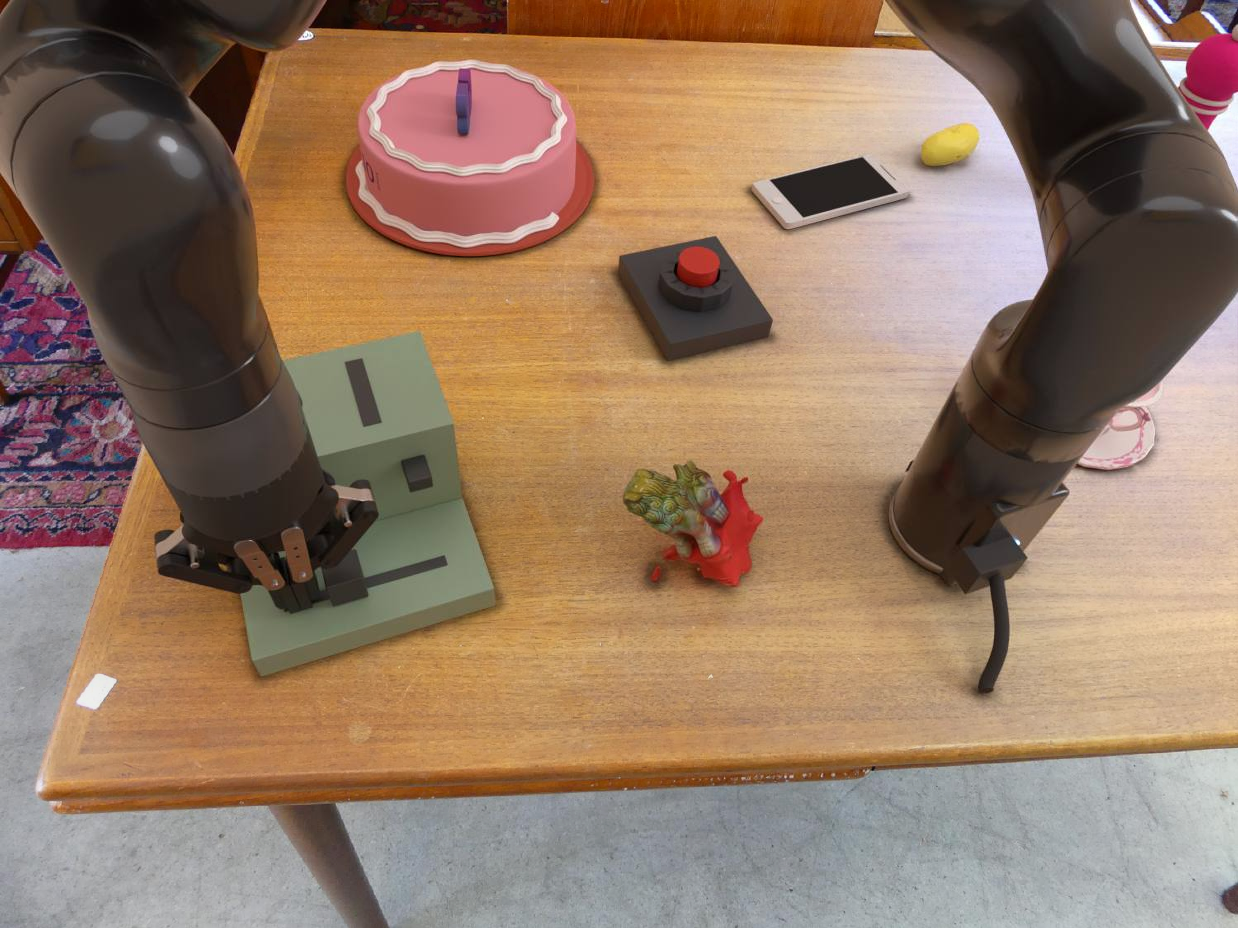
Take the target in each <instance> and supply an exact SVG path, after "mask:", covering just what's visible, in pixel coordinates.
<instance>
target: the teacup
mask: <svg viewBox="0 0 1238 928" xmlns="http://www.w3.org/2000/svg"><path fill="white" fill-rule="evenodd" d="M1164 392H1165V380H1164V378H1163V379H1162V380H1161V381H1160V382H1159V383H1158V384H1157V385H1156V386H1155V387H1154V388H1153V389H1152V390H1150V391H1149V392H1148V393H1146V394H1145V395H1143V396H1142V397H1140V398H1139V399H1137V400H1135V401H1133V402H1132V403H1130V404H1128V405H1126V406H1124V407H1122V408H1120V409H1119V411H1118V412H1117V413H1116V414H1115V416H1114V417H1113V418H1112V419H1111V420H1110V422H1109V423H1108V424H1107V426H1106V427H1105V428H1104V429H1103V431H1102V432H1101V433H1100V435H1099V436H1098V437H1097V438H1096V440H1095V441H1094V442H1093V444H1092V445H1091V446H1090V447H1089V449H1088V450H1087V451H1086V452H1085V454H1084V455H1083V456H1082V458H1081V459H1080V460H1079V462H1078V463H1077V464H1076V465H1078V466H1082V467H1084V468H1092V469H1099V470H1106V471H1110V470H1117V469H1124V468H1129V467H1131V466H1133V465H1135V464H1137V463H1138V462H1141V461H1143V460H1144V459H1145V458H1146V456H1147V455H1148V453H1150V451H1151V450H1152V448H1153V446H1154V444H1155V437H1156V426H1155V423H1154V421H1153V417H1152V415H1151V412H1150V410H1149V409H1148V408H1147V407H1149V406H1151V405H1154V404H1155V403H1158V401H1159V400H1160V399H1161V398H1162V397H1163V395H1164Z"/></svg>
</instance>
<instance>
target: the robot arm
mask: <svg viewBox="0 0 1238 928" xmlns="http://www.w3.org/2000/svg"><path fill="white" fill-rule="evenodd" d="M327 1H328V0H9V1H8V3H7V4H6V5H5V7H4V8H3V9H2V11H1V13H0V175H1V176H2V177H3V180H5V182H6V183H7V184H8V186H9V188H10V190H12V192H13V193H14V195H15V196H16V198H17V199H18V200H19V202H20V203H21V205H22V207H23V209H24V210H25V211H26V213H27V215H28V216H29V218H30V219H31V220H32V222H33V223H34V225H35V227H36V228H37V229H38V231H39V233H40V235H41V236H42V237H43V239H44V241H45V242H46V243H47V245H48V247H49V249H50V250H51V251H52V253H53V255H54V257H55V258H56V260H57V261H58V263H59V264H60V266H61V267H62V269H63V271H64V273H65V274H66V276H67V278H68V279H69V281H70V282H71V284H72V285H73V287H74V289H75V291H76V292H77V294H78V296H79V298H80V299H81V301H82V303H83V305H84V306H85V308H86V309H87V310H86V311H87V318H88V322H89V328H90V330H91V333H92V336H93V338H94V342H95V343H96V347H97V348H98V350H99V353H100V355H101V357H102V359H103V360H104V362H105V365H106V366H107V368H108V370H109V372H110V374H111V376H112V377H113V379H114V381H115V383H116V385H117V386H118V389H119V390H120V392H121V394H122V396H123V398H124V400H125V401H126V403H127V405H128V407H129V410H130V414H131V417H132V421H133V424H134V426H135V429H136V432H137V434H138V436H139V439H140V441H141V443H142V444H143V446H144V448H145V450H146V452H147V453H148V455H149V457H150V459H151V461H152V463H153V465H154V466H155V468H156V470H157V471H158V474H159V475H160V477H161V479H162V480H163V483H164V485H165V486H166V488H167V490H168V491H169V493H170V495H171V497H172V498H173V501H174V503H175V504H176V507H177V508H178V510H179V520H180V522H181V524H182V525H180V526H179V527H178V528H177V529H176V530H173V529H161V530H158V531H157V532H155V533H154V535H153V540H154V541H153V542H154V550H155V557H156V568H157V574H159V576H162V577H166V578H170V579H173V580H178V581H183V582H187V583H191V584H195V585H198V586H203V587H208V588H211V589H214V590H215V589H216V590H218V591H219V590H220V591H223V592H228V593H232V594H238V595H241V594H242V593H246V592H248V591H249V590H251V588H252V586H253V585H262V586H264V588H265V589H267V590H268V592H269V594H270V596H271V598H272V600H273V602H274V604H275V606H276V607H277V608H279V609H284V608H288V610H289V612H290V614H293V613H296V612H300V611H301V609H302V611H303V610H307V609H310V608H313V604H312V600H315V599H319V596H320V590H319V586H318V581H317V577H316V574H315V570H316V569H317V568H319V567H321V568H323V569H332V568H335V567H336V566H338V565H339V564H340V562H341V561H342V560H343V559H344V558H345V556H346V555H347V554H348V553H349V552H350V551H351V549H352V548H353V547H354V546H355V545H356V543H357V542H358V541H359V540H360V539H361V537H362V536H363V535H364V534H365V533H366V531H367V530H368V529H369V528H370V527H371V525H372V524H373V523H374V522H375V521H376V519H377V518H378V517H379V513H378V509H377V506H376V501H375V498H374V494H373V491H372V489H371V485H370V482H369V481H368V480H365V479H360V480H357V481H354V482H353V483H352V484H351V485H350V486H349V487H345V486H339V485H335V480H334V478H333V476H332V475H331V474H329V473H328V472H326V471H325V470H323V469H322V468H321V466H320V463H319V459H318V456H317V453H316V450H315V447H314V444H313V440H312V437H311V434H310V431H309V428H308V425H307V421H306V418H305V415H304V412H303V409H302V407H303V405H302V404H303V402H302V399H301V397H300V395H299V393H298V391H297V389H296V387H295V385H294V382H293V380H292V377H291V375H290V373H289V371H288V370H287V368H286V366H285V364H284V363H283V361H282V360H283V359H282V357H281V354H280V352H279V348H278V345H277V342H276V338H275V336H274V333H273V330H272V326H271V323H270V320H269V318H268V314H267V311H266V308H265V306H264V303H263V300H262V298H261V296H260V293H259V288H260V287H259V285H260V268H259V267H260V266H259V254H258V253H259V252H258V241H257V239H258V237H257V229H256V219H255V213H254V210H253V206H252V202H251V198H250V194H249V192H248V189H247V186H246V182H245V180H244V176H243V174H242V171H241V170H240V167H239V165H238V162H237V159H236V157H235V155H234V153H233V152H232V149H231V148H230V145H228V142H227V141H226V139H225V138H224V136H223V135H222V133H221V131H220V130H219V129H218V127H217V126H216V125H215V124H214V123H213V121H212V120H211V119H210V117H208V116H207V115H206V114H205V112H204V110H202V109H201V108H200V107H199V106H198V105H197V104H196V103H195V102H194V101H193V100H192V98H191V97H190V96H191V94H192V93H193V91H194V90H195V88H196V87H197V85H198V84H199V83H200V81H202V79H203V78H204V77H205V76H206V74H208V72H209V71H210V70H211V69H212V68H213V67H214V66H215V65H216V64H217V63H218V61H219V60H220V59H221V58H222V57H223V56H225V54H226V53H228V51H229V50H230V49H231V48H232V47H233V46H234V45H236V44H237V45H240V46H242V47H245V48H247V49H251V50H255V51H259V52H263V53H275V52H276V53H277V52H282V51H285V50H287V49H289V48H290V47H292V46H293V45H295V44H296V43H297V42H298V41H299V40H300V39H301V38H302V37H303V35H304V34H305V33H306V31H308V30H309V28H310V27H311V26H312V24H313V22H314V21H315V20H316V18H317V16H318V15H319V13H320V12H321V11H322V9H323V7H324V6H325V4H326V2H327ZM884 1H885V3H886V4H887V5H888V7H889V8H890V9H891V11H892V12H893V13H894V15H895V16H896V17H897V18H898V20H899V21H900V22H901V24H903V25H904V26H905V28H906V29H907V30H908V31H910V33H911V34H913V35H914V37H915V38H916V39H917V40H918V41H919V42H920V43H921V44H923V45H924V46H925V47H926V48H927V49H928V50H929V51H930V52H932V53H933V54H934V55H935V56H937V57H938V58H939V59H940V60H941V61H943V62H944V63H946V64H947V65H948V66H949V67H951V68H952V69H953V70H954V71H956V72H957V73H959V74H960V75H961V76H962V77H963V78H964V79H966V80H967V81H968V82H969V83H970V84H972V86H974V88H975V89H976V90H977V91H978V92H979V93H980V94H981V95H982V96H983V97H984V99H985V100H986V102H987V103H988V105H989V106H990V108H991V109H992V110H993V112H994V114H995V115H996V117H997V119H998V121H999V122H1000V125H1001V126H1002V128H1003V130H1004V133H1005V134H1006V136H1007V138H1008V140H1009V143H1010V144H1011V147H1012V149H1013V151H1014V153H1015V155H1016V157H1017V159H1018V161H1019V164H1020V166H1021V168H1022V171H1023V173H1024V176H1025V179H1026V181H1027V183H1028V186H1029V189H1030V192H1031V194H1032V199H1033V203H1034V206H1035V210H1036V215H1037V220H1038V226H1039V230H1040V236H1041V241H1042V247H1043V252H1044V257H1045V261H1046V267H1047V272H1046V275H1045V277H1044V279H1043V281H1042V283H1041V285H1040V287H1039V288H1038V290H1037V292H1036V294H1035V295H1034V297H1033V298H1032V299H1026V300H1020V301H1016V302H1014V303H1011V304H1008V305H1006V306H1005V307H1003V308H1001V310H999V311H998V312H997V313H995V315H993V317H992V318H991V319H990V320H989V321H988V323H987V325H986V326H985V328H984V330H983V331H982V332H981V333H982V334H981V335H980V337H979V339H978V341H977V342H976V344H975V347H974V349H973V350H972V352H971V353H970V356H969V358H968V360H967V362H966V363H965V365H964V367H963V369H962V371H961V373H960V375H959V376H958V378H957V380H956V382H955V383H954V386H953V387H952V389H951V391H950V393H949V394H948V397H947V399H946V400H945V402H944V404H943V406H942V407H941V409H940V412H939V413H938V415H937V417H936V418H935V421H934V423H932V426H931V427H930V429H929V431H928V434H927V435H926V437H925V439H924V440H923V443H922V445H921V446H920V448H919V450H918V452H917V453H916V455H915V458H914V459H913V460H911V461H910V462H909V464H908V465H907V467H906V469H905V472H904V473H906V475H905V477H904V478H903V480H902V482H901V484H900V485H899V486H898V488H897V489H896V491H895V493H894V495H893V496H892V498H891V500H890V502H889V506H888V524H889V527H890V530H891V533H892V535H893V537H894V539H895V541H896V542H897V544H898V545H899V547H900V548H901V549H902V550H903V551H904V552H905V554H907V555H908V556H909V557H910V558H911V559H912V560H913V561H914V562H916V563H917V564H918V565H920V566H922V567H923V568H925V569H927V570H929V571H931V572H933V573H936V574H938V575H939V576H940V578H942V579H943V581H944V583H945V584H946V585H947V586H949V587H952V586H955V585H958V586H959V588H960V589H961V591H962V592H963V594H964V595H968V594H972V593H973V592H977V591H980V590H982V589H986V588H989V592H990V600H991V605H992V613H993V614H992V615H993V641H992V647H991V651H990V654H989V657H988V659H987V662H986V664H985V666H984V668H983V670H982V673H981V674H980V677H979V679H978V683H977V691H978V692H979V693H980V694H990V693H993V692H994V687H995V684H996V683H997V680H998V677H999V675H1000V673H1001V671H1002V670H1003V669H1002V668H1003V666H1004V664H1005V661H1006V658H1007V655H1008V651H1009V644H1010V631H1011V630H1010V628H1011V627H1010V626H1011V625H1010V613H1009V605H1008V599H1007V592H1006V591H1007V590H1006V584H1005V581H1009V580H1010V579H1012V578H1014V576H1015V574H1016V573H1017V572H1018V571H1019V569H1020V568H1021V567H1022V566H1023V565H1024V563H1025V562H1026V561H1027V560H1028V556H1027V555H1026V553H1025V551H1026V549H1027V548H1028V547H1029V546H1030V545H1031V543H1032V542H1033V540H1035V538H1036V537H1037V536H1038V534H1040V532H1041V530H1043V528H1044V527H1045V526H1046V524H1047V523H1048V522H1049V520H1050V519H1051V518H1052V517H1053V515H1055V513H1056V512H1057V510H1058V509H1059V508H1060V507H1061V505H1062V504H1063V503H1064V502H1065V501H1066V499H1067V498H1068V497H1069V495H1070V490H1069V488H1068V487H1067V485H1066V484H1065V483H1064V481H1065V480H1066V478H1067V477H1068V476H1069V475H1070V473H1071V472H1072V471H1073V469H1074V468H1075V467H1076V466H1077V465H1078V464H1077V463H1078V462H1079V460H1080V459H1081V458H1082V456H1083V455H1084V454H1085V452H1086V451H1087V450H1088V449H1089V447H1090V446H1091V445H1092V444H1093V442H1094V441H1095V440H1096V438H1097V437H1098V436H1099V435H1100V433H1101V432H1102V431H1103V429H1104V428H1105V427H1106V426H1107V424H1108V423H1109V422H1110V420H1111V419H1112V418H1113V417H1114V416H1115V414H1116V413H1117V412H1118V411H1119V409H1120V408H1122V407H1124V406H1126V405H1128V404H1130V403H1132V402H1133V401H1135V400H1137V399H1139V398H1140V397H1142V396H1143V395H1145V394H1146V393H1148V392H1149V391H1150V390H1152V389H1153V388H1154V387H1155V386H1156V385H1157V384H1158V383H1159V382H1160V381H1161V380H1162V379H1164V378H1166V376H1167V375H1168V374H1169V373H1170V372H1171V371H1172V370H1173V369H1174V367H1175V366H1177V364H1178V363H1179V362H1180V361H1181V360H1182V359H1183V358H1184V357H1185V355H1187V353H1188V352H1189V351H1190V350H1191V349H1192V348H1193V346H1194V345H1195V344H1196V343H1197V342H1198V341H1199V340H1200V339H1201V338H1202V337H1203V335H1205V333H1206V332H1207V331H1208V330H1209V329H1210V328H1211V327H1212V326H1213V325H1214V323H1215V322H1216V321H1217V320H1218V319H1219V317H1220V316H1221V315H1223V312H1225V310H1226V309H1227V307H1229V305H1230V304H1231V303H1232V301H1233V300H1234V299H1235V298H1236V296H1237V295H1238V186H1237V183H1236V181H1235V178H1234V176H1233V174H1232V172H1231V169H1230V167H1229V164H1228V162H1227V159H1226V157H1225V155H1224V153H1223V151H1222V150H1221V147H1220V146H1219V144H1217V142H1216V140H1215V139H1214V138H1213V136H1212V134H1211V133H1210V132H1209V130H1208V131H1207V129H1206V128H1205V126H1204V125H1203V123H1202V122H1201V121H1200V119H1199V118H1198V116H1197V115H1196V114H1195V112H1194V111H1193V109H1192V108H1191V106H1190V105H1189V104H1188V102H1187V101H1186V99H1185V98H1184V96H1183V95H1182V93H1181V92H1180V90H1179V89H1178V86H1177V84H1176V83H1175V82H1174V80H1173V79H1172V77H1171V75H1170V73H1169V71H1168V70H1167V69H1166V67H1165V65H1164V64H1163V62H1162V61H1161V59H1160V57H1159V56H1158V54H1157V53H1156V51H1155V49H1154V47H1153V46H1152V44H1151V43H1150V41H1149V40H1148V37H1147V35H1146V34H1145V32H1144V30H1143V28H1142V26H1141V25H1140V22H1139V20H1138V18H1137V15H1136V13H1135V11H1134V8H1133V6H1132V2H1131V0H884ZM281 551H285V553H286V556H285V558H284V557H281V558H280V556H279V552H281ZM285 559H286V560H285ZM220 565H222V566H226V568H227V569H226V570H224V569H223V568H222V567H220Z"/></svg>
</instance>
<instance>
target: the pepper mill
mask: <svg viewBox="0 0 1238 928" xmlns="http://www.w3.org/2000/svg"><path fill="white" fill-rule="evenodd" d="M1185 74H1186V76H1184V77H1183V78H1182V79H1181V80H1180V82H1179V84H1178V86H1177V88H1178V89H1179V90H1180V92H1181V93H1182V95H1183V96H1184V98H1185V99H1186V101H1187V102H1188V104H1189V105H1190V106H1191V108H1192V109H1193V111H1194V112H1195V114H1196V115H1197V116H1198V118H1199V119H1200V121H1201V122H1202V123H1203V125H1204V126H1205V128H1206V129H1207V131H1208V132H1209V129H1210V128H1211V126H1212V124H1213V122H1214V121H1215V120H1216V118H1217V117H1218V116H1219V115H1221V114H1224V113H1225V112H1227V110H1228V108H1229V105H1230V104H1231V103H1233V101H1234V100H1235V94H1236V93H1238V23H1237V24H1236V25H1234V27H1233V29H1232V31H1231V33H1229V32H1227V33H1218V34H1217V33H1216V34H1214V35H1211V36H1209V37H1207V38H1205V39H1203V40H1202V41H1200V43H1198V44H1197V46H1196V47H1195V48H1194V49H1193V50H1192V52H1190V54H1189V56H1188V58H1187V60H1186V63H1185Z"/></svg>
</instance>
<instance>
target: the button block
mask: <svg viewBox="0 0 1238 928" xmlns="http://www.w3.org/2000/svg"><path fill="white" fill-rule="evenodd" d="M690 247H704V248H707V249H709V250H711V251H713V252H714V253H715V254H716V255H717V256H718V258H719V261H720V264H719V269H718V274H717V278H716V281H715V282H714V284H712V285H711V286H708V287H704V288H697V287H690V286H688V285H686V284H684V283H682V282H681V281H680V280H679V279H678V277H677V267H678V261H679V256H680V254H681V252H682V251H684V250H685V249H687V248H690ZM618 258H619V259H618V266H617V267H618V268H617V275H618V276H619V278H620V281H621V282H622V283H623V285H624V287H625V289H626V291H627V292H628V294H629V296H630V298H631V300H632V301H633V303H634V305H635V307H636V309H637V310H638V312H639V313H640V315H641V317H642V319H643V321H644V322H645V324H646V326H647V328H648V330H649V331H650V333H651V335H652V337H653V338H654V340H655V342H656V344H657V345H658V347H659V349H660V351H661V352H662V354H663V356H664V358H665V359H666V361H667V362H671V361H675V360H679V359H684V358H688V357H693V356H696V355H700V354H704V353H708V352H712V351H716V350H720V349H725V348H729V347H733V346H737V345H741V344H745V343H746V344H747V343H749V342H754V341H758V340H762V339H766V338H769V337H770V336H769V335H770V332H771V329H772V325H773V321H774V319H773V318H772V315H770V313H769V311H768V310H767V308H766V307H765V306H764V304H763V303H762V301H761V300H760V298H759V297H758V295H757V294H756V292H755V291H754V289H753V288H752V286H751V285H750V283H749V282H748V280H747V279H746V278H745V276H744V275H743V273H742V272H741V270H740V268H739V267H738V265H736V263H735V261H734V259H733V258H732V257H731V256H730V254H729V252H728V251H727V249H726V248H725V247H724V245H723V244H722V242H721V240H720V239H719V238H718V237H717V235H713V236H709V237H703V238H699V239H694V240H693V239H692V240H689V241H683V242H679V243H674V244H669V245H664V246H660V247H654V248H650V249H645V250H639V251H635V252H631V253H626V254H620V255H618Z"/></svg>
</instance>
